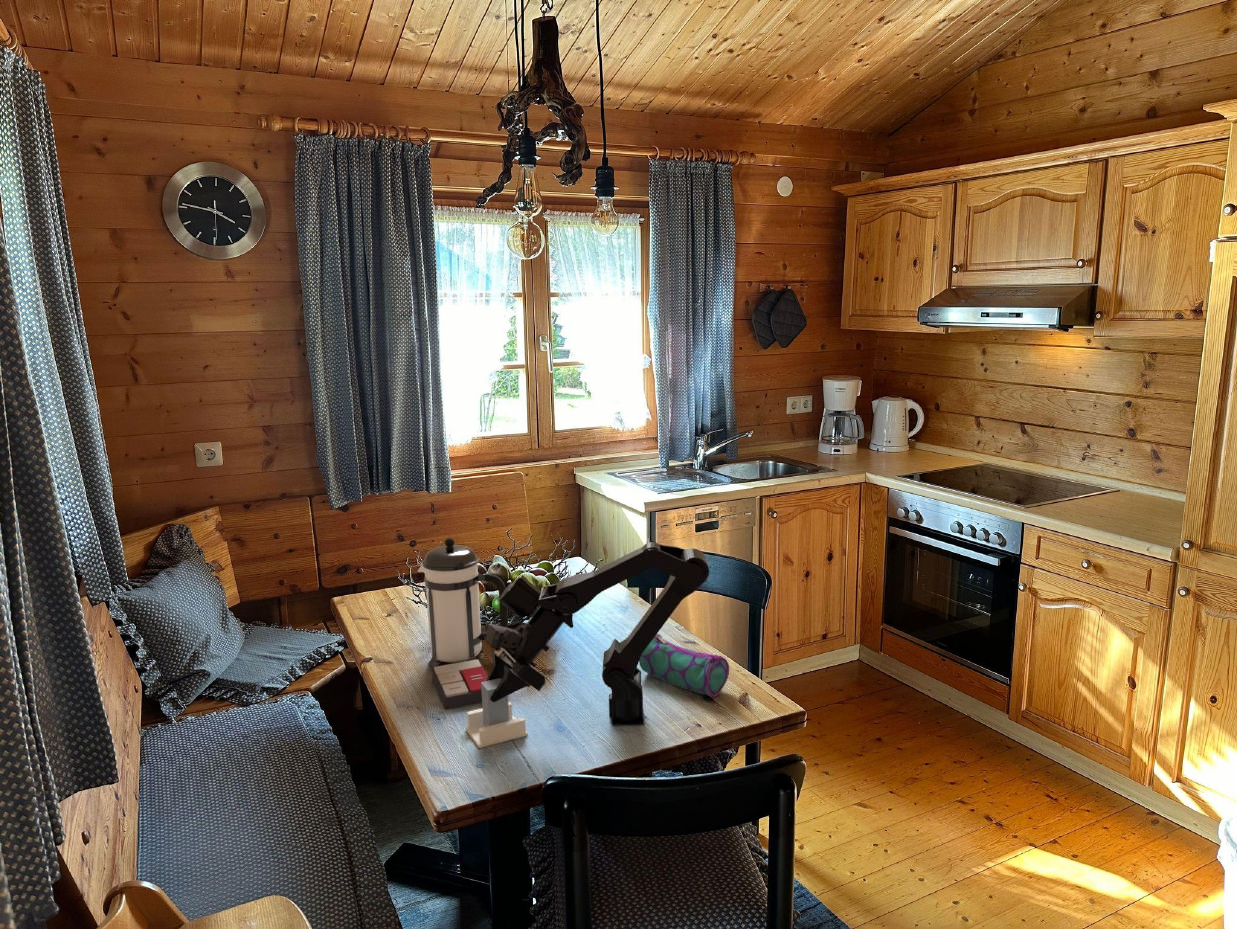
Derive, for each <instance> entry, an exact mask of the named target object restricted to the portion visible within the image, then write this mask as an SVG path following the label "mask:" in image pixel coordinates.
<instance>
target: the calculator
mask: <svg viewBox="0 0 1237 929" xmlns="http://www.w3.org/2000/svg"><path fill="white" fill-rule="evenodd" d="M488 675H489V673H488V672H487V671H486V668H484V665H483V663H482V662H481V660H480V659H476V660H471V661H461V662H453V663H448V664H444V665H438V666H437V667H434V668H431V680H432V682H431V683H432V685H433V687H434V689H435V690H436V693H437V695H438V697H439V699H440V702H441V704H442V706H443V708H444V710H447V711H448V710H453V709H458V708H462V707H468V706H474V705H477V704H482V690H481V682H485V681H486V680H487V677H488Z"/></svg>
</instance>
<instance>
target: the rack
mask: <svg viewBox="0 0 1237 929" xmlns="http://www.w3.org/2000/svg"><path fill="white" fill-rule="evenodd" d="M508 709H509V721H507V722H503V723H499V724H495V725H491V726H487V727H485V726H484V724H483V707H482V708H478V709H475V710H471V711H467V712H466V718H467V727H465V730H466V733H468V735H469V736H470V738H471V740H472V741H473V742H474V744H475V745H476V746H477V748H478V749H482V748H485V747H488V746H489V747H490V746H492V745H497V744H500V743H503V742H508V741H512V740H515V739H519V738H523V737H527V736H529V735H528V734H529V733H528V731H527V729H526V728H527V726H526V719H525V718H524V717H519V718H516V717H515V716H514V715H513V704H512V702H511V701H508Z"/></svg>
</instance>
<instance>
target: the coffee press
mask: <svg viewBox="0 0 1237 929" xmlns="http://www.w3.org/2000/svg"><path fill="white" fill-rule="evenodd" d="M455 543H456V542H455V539H453V537H447V538H446V539H445V540H444V545H441V546H437V547H434V548H433V549H431V550H429V551H428V552H427V553H426V555H425V556H424V559H423V560H422V564H421V565H420V567H419V569H417V572H418V573H424V580H423V581H424V586H425V590H426V593H425V594H426V603H427V604H426V605H427V606H426V607H427V608H426V609H427V618H428V619H427V621H428V622H427V623H428V632H429V633H428V635H429V648H430V649H429V650H430V655H431V658H430V660H429V662H428V667H429V668H430V669H432V668H434V667H437V666H440V663H442V662H444V663H460V662H465V661H471V660H477V657H476V656H478V655H479V654H480V653H481V652H483V651H484V648H485V647H484V645H483V644H482V641H486V640H485V638H486V636H487V633H488V631H483V630H482V626H481V610H480V608H481V607H480V591H479V590H480V589H479V582H485V583H486V582H487V583H492V584H494V585H495V586H496V588H497V590H498V599H499V598H500V596H501V595H502V593H503V592H504V590H505V589H506V588H507V586H506V584H505V583H504V581H503V580H502V579H501V578H500V577H499V576H498V575H496V574H493V573H483V574H480V572H479V571H478V564H479V559H480V557H479V556H478V555H477V554H476V551H475V550H474V549H472V548H471V547H470V546H466V545H462V544H455ZM498 602H499V618H500V624H499V626H502V627H506V628H508V624H509V609H508V608H507V607H506V606H505V605H503V604H502V603H501V602H500V601H498Z"/></svg>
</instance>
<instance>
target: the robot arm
mask: <svg viewBox="0 0 1237 929" xmlns="http://www.w3.org/2000/svg"><path fill="white" fill-rule="evenodd" d="M651 568H654V569H656V570H659V571H661V572H664V573H666V574H667V575H669V579H668V581H667V583H666V585H665V586H664V588H663V589H661V590H662V591H661V592H660V593H659V594H658V596H657V597H656V599H654V601H653V602H652V604H651V605H650V606H649V607H648V609H647V611H645V613H644V614H643V616H642V617H641V619H640V620H639V622H637V624H636V625H635V627H634V628H633V629H632V630H631V632H630V633H629V634H628V636H627V637H625V639H623V640H622V641H618V639H617V638H614V639H613V641H612V642H611V644H610V646H609V647H608V648H607V650H605V651H603V657H602V659H603V660H602V672H601V678H602V681H603V683H604V684H605V686H607V687H608V688H610V690H611V693H609V694H608V714H609V715H608V716H609V719H611V725H612V726H638V725H644V724H645V717H644V716H645V715H644V714H645V712H644V690H643V685H642V671H641V670H640V669H639V668H638V665H639V664H640V663H639V660H640V657H641V655H642V653H643V652H644V650H645V649H646V648H647V646H648V645H649V644H650V642H651V641H652V640H653V638H654V637H655V636H656V634H659V632H660V630H661V629H662V627H663V626H664V625H665V623H666V622H668V619H669V618H670V617H671V615H672V614H673V613H674V611H676V609H677V608H678V606H679V605H680V604H681V603H682V601H683V600H684V599H686V598H687V597H688V596H690V595H692V594H693V593H695V592H696V591H697V590H698V589H699V588H700V587H702V585H704V583H705V582H706V581H707V580H708V578H709V575H710V570H709V569H710V568H709V563H708V560H707V557H706V555H705V554H704V552H702V551H701V550H700V549H697V548H686V549H685V548H681V547H680V546H679V547H678V546H674V545H666V544H664V545H663V544H660V543H658V542H655V541H649V542H646V543H645V544H644V545H642V546H641V547H638V548H637V549H635V550H633V551H631V552H629V553H627V554H624V556H620V557H619V558H617V559H616V560H615V559H614V560H613V561H611V562H609V563H607V564H604V565H603V566H601V567H600V568H599V567H598V568H597V569H595V570H593V571H589V572H582V573H577V574H573V575H571V576H567V577H565V578H562V579H561V580H560V581H559V582H558V583H554V584H549V585H545V586H542V587H541V589H539V588H538V587H537V586H536V585H535V584H533V583H532V582H530V580H528V578H527V577H526V576H524V575H523V574H519V576H518V577H516V578H515V579H514V580H513V581H511V582H510V583H509V584H508V586H506V589H505V590H504V592H503V593H502V595H501V596H500V598H499V597H498V600H497V601H498V602H499V601H500V602H501V603H502V604H503V605H505V606H506V607H507V608H508V610H510V611H511V612H512V613H513V614H515V615H516V616H517V617H518V618H520V619H521V618H523V619H525V618H526V617H527V618H528V617H530V616H531V615H532V614H533V613H534V614H533V615H532V616H531V617H530V618H529V619H528V621H527V623H526V624H525V625H524V626H523V625H522V624H520V625H518V626H516V628H515V629H512V628H509V627H507V628H506V627H502V626H500V625H497V624H494V623H493V624H491V623H490V625H489V628H488V630H487V632H488V633H487V636H486V638H485V640H484V641H486V644H487V645H488V646H489V647H490V648H491V649H495V651H493V650H490V654H491V658H492V663H491V668H490V670H489V672H488V677H487V680H486V681H489V680H494V679H498V678H501V679H502V680H501V681H500V683H499V685H498V686H497V688H496V689H495V691H494V692H493V694H492V696H491V698H490V700H491V701H492V702H496V701H498V700H500V699H502V698H504V697H506V696H507V695H508V696H509V695H511V694H513V693H515V692H517V691H520V690H523V689H524V688H526V687H527V688H530V687H532V688H534V689H535V690H536V691H538V692H540V691H541V690H542V689H543V687H544V686H545V684H546V676H545V675H544V674H543V673H542V672H541V671H540V670H539V669H537V668H536V666H537V663H535V660H536V659H537V658H538V657H539V655H540V654H541V653H542V651H544V652H546V653H547V652H548V651H549V649H550V647H549V646H548V643H549V642H550V641H551V640H552V638H553V637H554V636H555V635H556V633H557V632H558V631H559V630H560V629H561V627H562V626H563V625H564V624H565V625H566V626H567V627H569V628H570V629H573V628H574V620H573V617H574V614H577V613H578V612H579V611H581V609H583V608H585V607H586V606H587V605H589V604H590V603H591V602H592V601H593V600H594V599H595V598H596V597H597V596H598V595H600V594H601V593H602V592H604V591H606V590H608V589H611V588H612V587H615V586H616V585H618V584H621V583H623V582H625V581H626V580H628V579H630V578H632V577H634V576H636V575H638V574H640V573H642V572H644V571H646V570H649V569H651ZM500 602H499V603H500ZM539 605H540V606H539ZM538 606H539V607H538ZM537 608H538V609H537ZM536 609H537V610H536ZM535 610H536V611H535Z"/></svg>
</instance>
